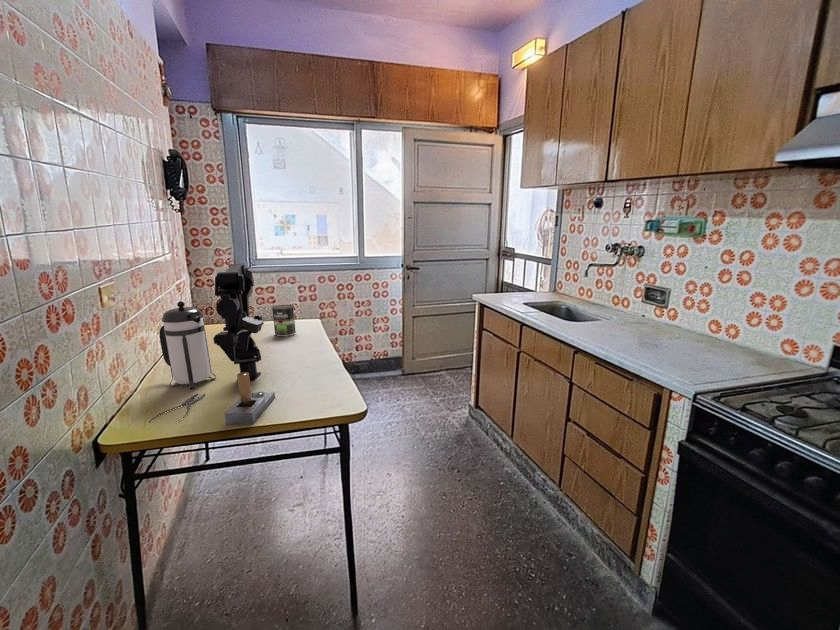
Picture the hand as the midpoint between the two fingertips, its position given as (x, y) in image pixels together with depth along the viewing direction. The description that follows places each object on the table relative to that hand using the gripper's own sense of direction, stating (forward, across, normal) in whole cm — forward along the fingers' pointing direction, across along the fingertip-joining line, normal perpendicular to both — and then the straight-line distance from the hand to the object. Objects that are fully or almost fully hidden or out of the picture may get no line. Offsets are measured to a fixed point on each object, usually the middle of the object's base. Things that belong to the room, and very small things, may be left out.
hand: (239, 356), depth 139 cm
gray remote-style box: (+13, -13, -8) cm, 20 cm away
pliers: (+14, -11, +16) cm, 24 cm away
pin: (+13, -16, -8) cm, 22 cm away
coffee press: (+13, +10, +24) cm, 29 cm away
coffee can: (+13, +71, +9) cm, 73 cm away
